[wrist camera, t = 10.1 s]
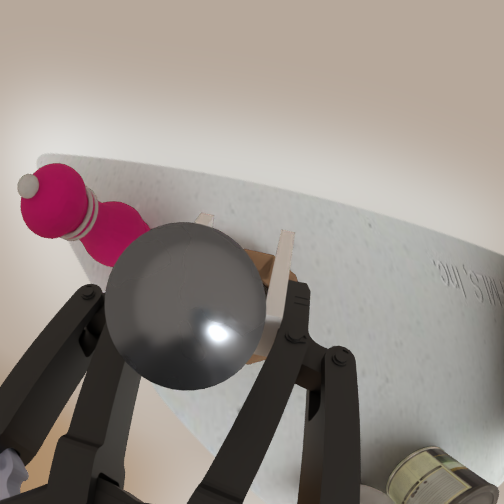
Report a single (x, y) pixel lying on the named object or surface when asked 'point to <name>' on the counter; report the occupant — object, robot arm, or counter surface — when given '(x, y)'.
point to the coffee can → (437, 481)
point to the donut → (373, 496)
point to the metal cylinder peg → (185, 306)
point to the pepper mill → (77, 213)
